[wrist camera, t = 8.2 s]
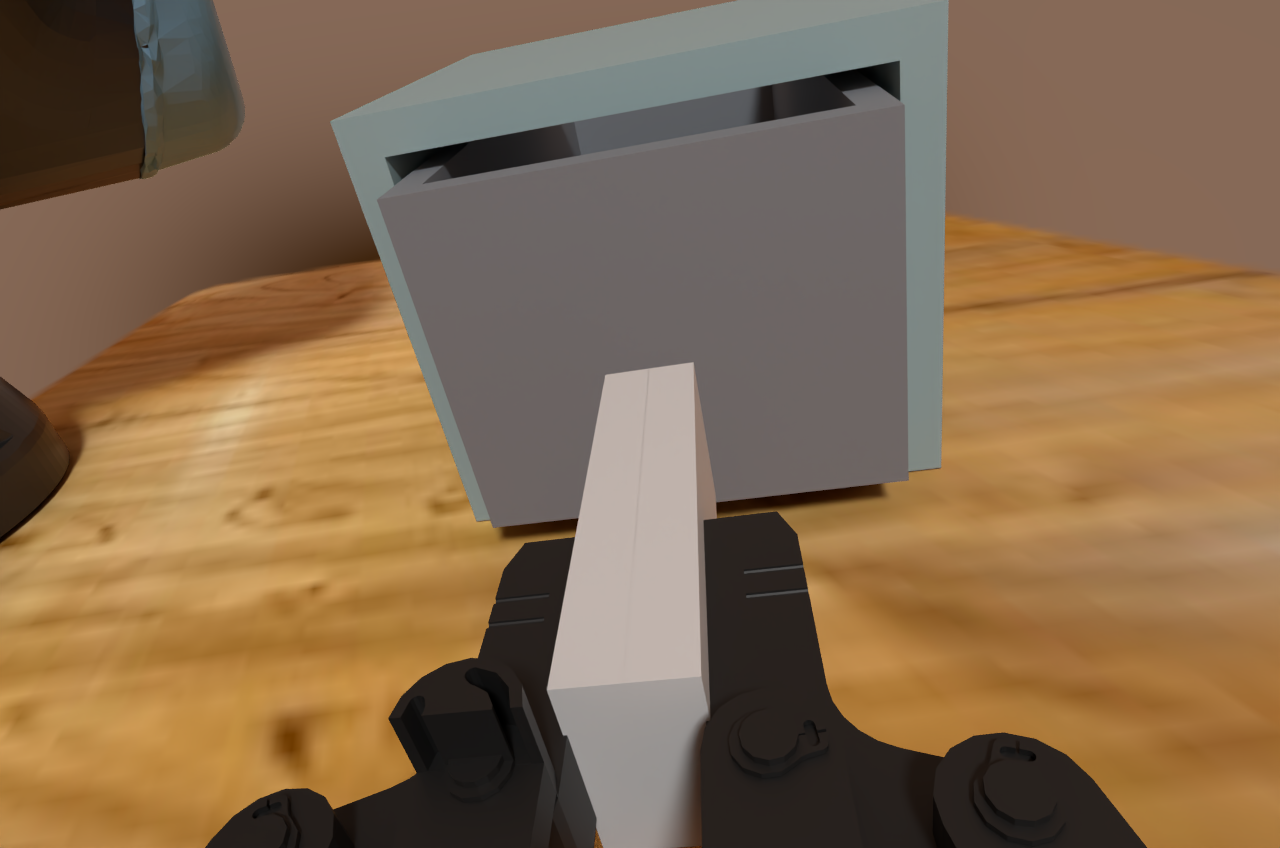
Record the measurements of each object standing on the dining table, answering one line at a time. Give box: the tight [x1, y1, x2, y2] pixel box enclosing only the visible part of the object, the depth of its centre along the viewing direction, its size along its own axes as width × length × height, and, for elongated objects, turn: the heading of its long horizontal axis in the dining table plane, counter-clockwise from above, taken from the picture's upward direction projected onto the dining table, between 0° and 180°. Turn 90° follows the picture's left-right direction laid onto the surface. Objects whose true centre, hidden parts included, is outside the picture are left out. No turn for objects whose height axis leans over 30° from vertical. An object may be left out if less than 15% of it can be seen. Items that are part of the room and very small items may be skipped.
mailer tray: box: [377, 69, 909, 528], centre depth 29 cm, size 24×11×9 cm, turn 177°
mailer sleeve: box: [330, 0, 948, 521], centre depth 26 cm, size 14×14×12 cm
